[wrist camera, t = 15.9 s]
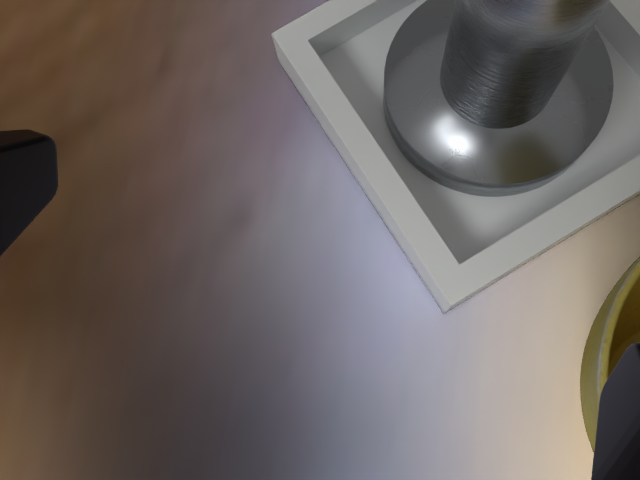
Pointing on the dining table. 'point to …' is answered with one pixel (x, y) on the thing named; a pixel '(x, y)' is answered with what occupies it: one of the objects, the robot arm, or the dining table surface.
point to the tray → (427, 195)
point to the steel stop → (497, 91)
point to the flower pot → (609, 343)
